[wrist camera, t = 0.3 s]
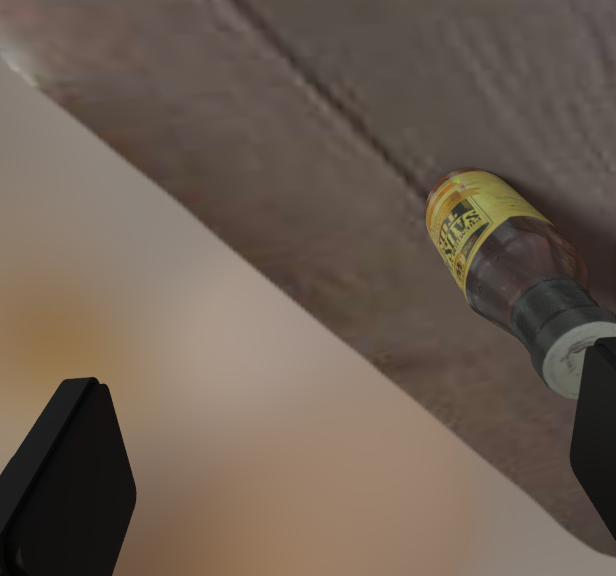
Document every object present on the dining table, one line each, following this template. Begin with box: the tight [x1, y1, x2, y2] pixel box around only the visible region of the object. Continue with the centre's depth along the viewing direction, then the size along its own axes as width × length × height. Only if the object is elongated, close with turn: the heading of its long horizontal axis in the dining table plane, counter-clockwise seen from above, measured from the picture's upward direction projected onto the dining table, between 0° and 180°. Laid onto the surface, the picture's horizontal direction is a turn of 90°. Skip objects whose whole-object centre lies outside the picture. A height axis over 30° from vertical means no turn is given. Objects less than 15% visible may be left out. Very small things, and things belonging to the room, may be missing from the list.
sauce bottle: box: [424, 168, 616, 399], centre depth 32 cm, size 7×6×20 cm
